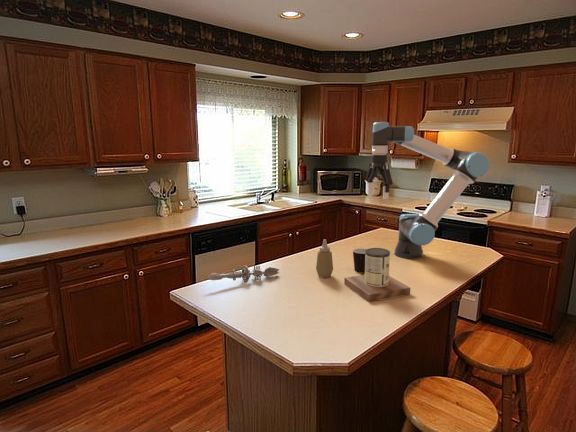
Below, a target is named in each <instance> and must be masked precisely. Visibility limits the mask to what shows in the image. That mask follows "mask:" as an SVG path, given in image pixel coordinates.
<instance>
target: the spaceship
mask: <svg viewBox="0 0 576 432" xmlns="http://www.w3.org/2000/svg"><path fill="white" fill-rule="evenodd" d="M279 271H280V269H279V268H275V267H270V266H269V267H265V268H263V269H261V266H260V265H254V266H253V270H252V271H250V269H249V267H248V266H247V265H243V266H242V269H241V270H240V271H239V270H238V271H236V269H232V271H230V272H227V273H221V272H217V273H216V272H213V273H210V274H208V275H207V277H206V279H207V280H210V281H220V280H222V279H226V278H227V279H232V281H236V280H237V279H242V281H243V282H244V284H245V283H246V284H247V283H248V282H249V280H250V278H251V276H252V277H254V281H255V282H257V280H258V281H261V280H262V278H261V277H262V276H264V277H266V278H269V277H273V276H276V275H278V274H280V272H279Z"/></svg>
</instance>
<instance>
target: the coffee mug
mask: <svg viewBox="0 0 576 432" xmlns="http://www.w3.org/2000/svg"><path fill="white" fill-rule="evenodd" d="M366 249H367V248H362V247H360V248H354V249H352V256H353V268H354V269H353V270H354V271H355V272H357V273H360V274H365V250H366Z"/></svg>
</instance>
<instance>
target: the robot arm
mask: <svg viewBox="0 0 576 432" xmlns="http://www.w3.org/2000/svg"><path fill="white" fill-rule="evenodd" d="M372 125H373V126H372V136H371V138H372V140H371V160H370V161H371V163H369V166H368V170H367V172H366V173H367V174H366V177H365V181H366V182H367V196H374V180H375V178H376V177H377V174H379V175H380V177H381V179H382V182H383V187H382V189H383V190H382V199H383V200H389V198H390V197H389V196H390V195H389V193H390V187H391V186H392V185H393V184H394V183H393V179H392V174H391V171H390V165H389V164H386V163H387V162H388V155H387V154H388V153H389V152H388V148H389V143H394V144H397V145H399V146H402V147H405V148H407V149H408V150H411V151H414V152H417V153H419V154H421V155H423V156H425V157H428V158H431V159H433V160H436V161H438V162H441V164H442V165H443V166H444V167H447V168H449V169H451V170H452V176H451V177H450V178H449V179H448V181H447V182H446V183H445V184H444V185H443V187H442V188H441V190H440V191H439V192H438V193H437V194H436V196H435V197H434V198H433V200H432V201H431V202H430V203H429V205H428V206H427V207H426V208H425V210H424V211H423V212H421V213H420V212H419V213H401V215H400V216H399V219H398V221H399V222H398V223H399V224H398V240H397V243H396V245H395V248H394V255H395V256H396V257H398V258H403V259H410V260H414V259H420V258H423V256H424V251H423V247H422V246H427V245H428V244H430V243H432V241H433V240H434V239H435V235H436V233H435V232H436V231H437V230H438V228H439V225H438V224H439V222H440V220H441V219H442V218H443V217H444V215H446V213H447V212H448V211H449V209H450V208H451V207H452V205H454V203H455V202H456V200H458V198H459V197H460V195H461V194H462V193H463V192H464V190H465V189H466V188H467V187H468V185H471V184H474V183H475V182H476V181H477V179H478V178H481V177H484V176H485V175H487V174H488V173H489V170H490V166H491V163H490V160H489V157H488V156H487V155H486V154H485V153H483V152H480V151H468V150H467V151H466V150H459V149H456V148H453V147H451V148H448V147H445V146H443V145H441V144H437V143H436V142H432V141H430V140H428V139H426V138H423V137H421V136H419V135H416V134H415V129H414V127H413V126H410V125H409V126H408V125H395V126H392V125H389V122H388V121H379V122H377V121H375V122H374V123H373V124H372Z"/></svg>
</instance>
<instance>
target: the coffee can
mask: <svg viewBox="0 0 576 432" xmlns="http://www.w3.org/2000/svg"><path fill="white" fill-rule="evenodd" d="M365 249H366V250H365V273H364V275H365V281H364V282H365V283H366V284H367V285H369V286H373V287H384V286H387V285H388V284H389V276H390V260H391V259H390V256H391V251H390V250H389V249H386V248H381V247H370V248H365Z"/></svg>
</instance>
